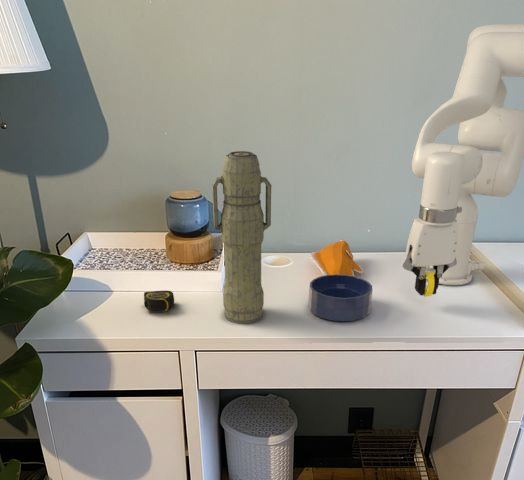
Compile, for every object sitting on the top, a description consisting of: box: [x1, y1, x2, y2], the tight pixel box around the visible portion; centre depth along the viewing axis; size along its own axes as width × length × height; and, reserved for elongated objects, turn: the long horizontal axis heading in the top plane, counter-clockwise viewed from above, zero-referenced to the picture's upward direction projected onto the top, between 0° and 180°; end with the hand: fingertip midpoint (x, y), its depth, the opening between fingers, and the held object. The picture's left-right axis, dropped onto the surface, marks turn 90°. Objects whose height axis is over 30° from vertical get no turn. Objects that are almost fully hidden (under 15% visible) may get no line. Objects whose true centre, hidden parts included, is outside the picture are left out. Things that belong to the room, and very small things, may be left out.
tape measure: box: [143, 290, 175, 313], centre depth 127 cm, size 7×7×4 cm
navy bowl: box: [308, 274, 373, 322], centre depth 127 cm, size 14×14×6 cm
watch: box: [423, 268, 436, 297], centre depth 126 cm, size 6×3×6 cm, turn 3°
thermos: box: [211, 150, 272, 325], centre depth 117 cm, size 9×12×35 cm
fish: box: [309, 239, 365, 277], centre depth 144 cm, size 7×27×15 cm
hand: (425, 291), depth 127 cm, fingers closed on watch, 2 cm apart
